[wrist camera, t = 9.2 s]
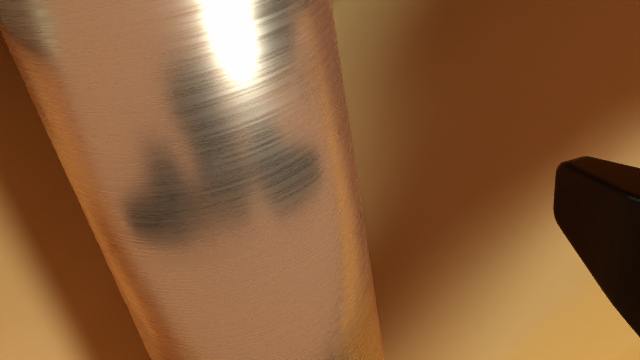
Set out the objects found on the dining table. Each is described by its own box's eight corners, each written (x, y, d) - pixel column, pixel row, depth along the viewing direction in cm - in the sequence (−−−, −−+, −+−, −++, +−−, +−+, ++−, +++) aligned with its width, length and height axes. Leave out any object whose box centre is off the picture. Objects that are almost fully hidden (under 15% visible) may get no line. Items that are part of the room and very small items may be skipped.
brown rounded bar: (-73, -309, 8) (-335, -456, 4) (250, -363, 8) (294, -543, 4) (210, 398, 16) (212, 576, 12) (370, 357, 16) (423, 519, 12)
